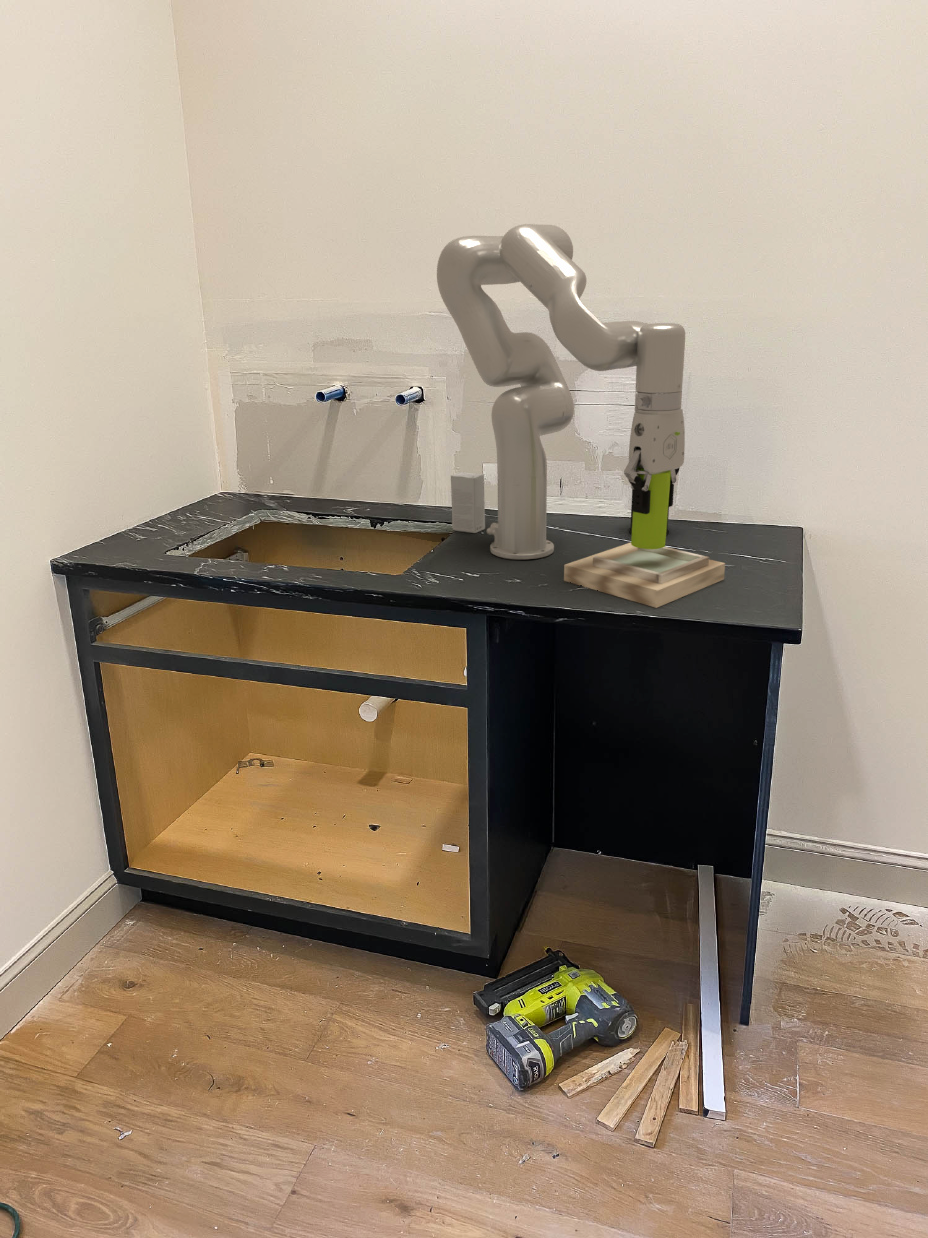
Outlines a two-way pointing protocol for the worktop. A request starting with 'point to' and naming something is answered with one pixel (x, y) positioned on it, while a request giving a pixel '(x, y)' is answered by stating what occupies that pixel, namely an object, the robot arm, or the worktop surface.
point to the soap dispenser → (653, 514)
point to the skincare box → (468, 502)
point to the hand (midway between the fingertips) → (652, 507)
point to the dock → (645, 573)
